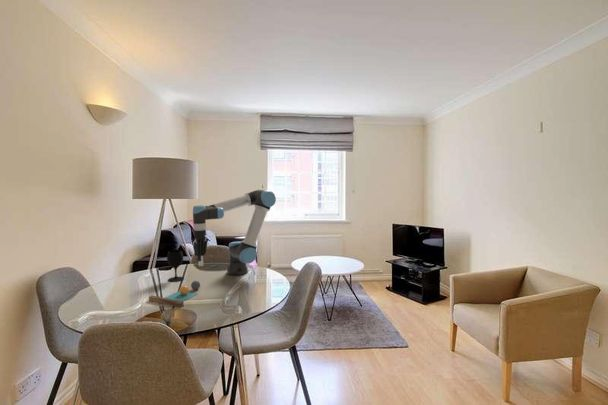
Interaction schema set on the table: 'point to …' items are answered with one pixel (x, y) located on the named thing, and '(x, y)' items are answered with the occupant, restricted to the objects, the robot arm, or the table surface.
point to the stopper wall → (166, 301)
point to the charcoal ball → (195, 285)
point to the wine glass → (175, 263)
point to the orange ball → (184, 290)
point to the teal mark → (181, 296)
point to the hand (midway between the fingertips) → (200, 265)
